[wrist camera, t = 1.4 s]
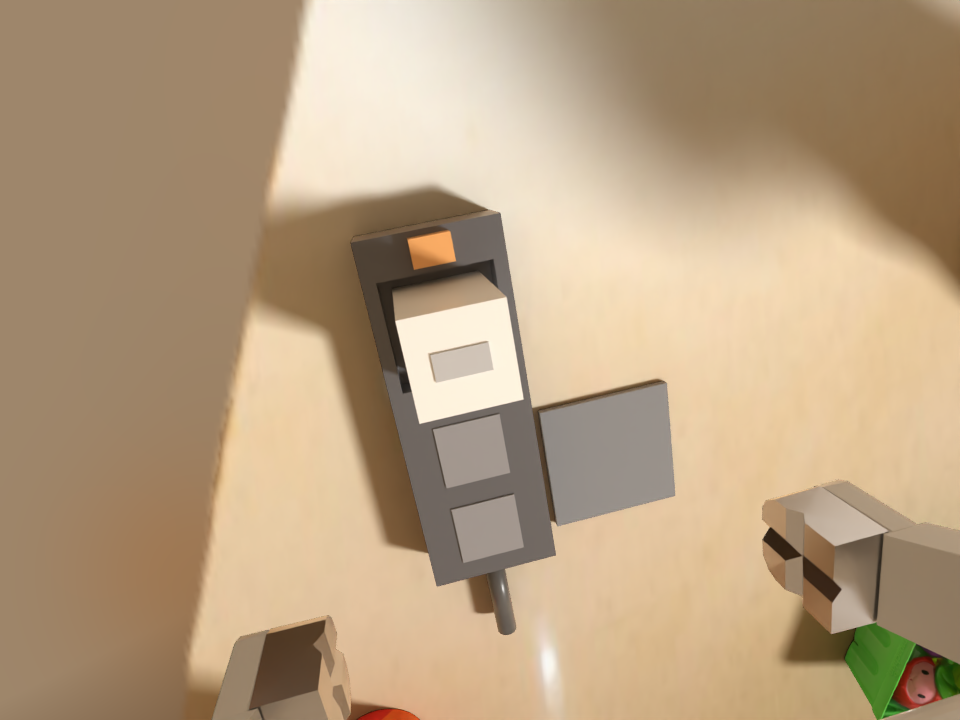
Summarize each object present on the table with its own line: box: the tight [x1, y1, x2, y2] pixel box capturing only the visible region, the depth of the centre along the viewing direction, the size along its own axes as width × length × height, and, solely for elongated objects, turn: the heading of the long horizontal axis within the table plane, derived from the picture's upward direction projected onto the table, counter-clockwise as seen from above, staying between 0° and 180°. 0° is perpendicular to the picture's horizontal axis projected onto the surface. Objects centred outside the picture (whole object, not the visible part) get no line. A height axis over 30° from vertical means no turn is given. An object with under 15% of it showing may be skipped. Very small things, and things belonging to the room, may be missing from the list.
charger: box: [392, 271, 524, 424], centre depth 26 cm, size 4×4×7 cm
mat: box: [538, 381, 675, 526], centre depth 35 cm, size 8×8×1 cm
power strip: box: [351, 210, 556, 635], centre depth 32 cm, size 7×26×4 cm, turn 10°
